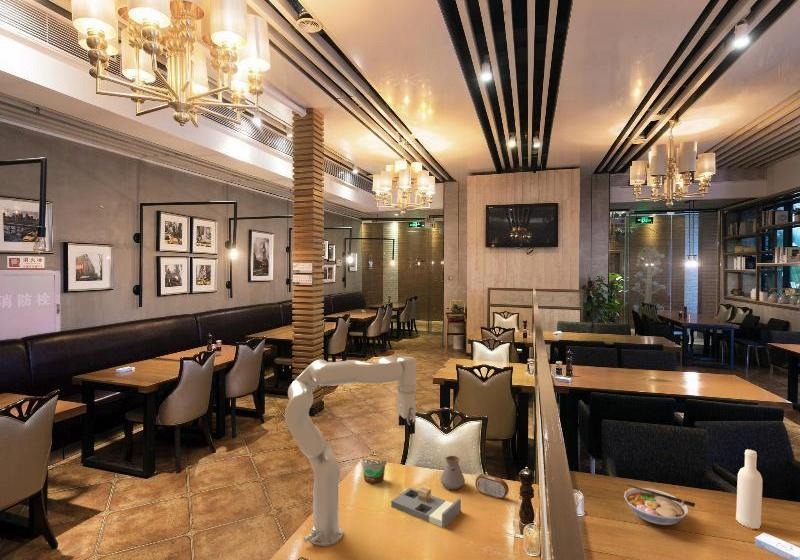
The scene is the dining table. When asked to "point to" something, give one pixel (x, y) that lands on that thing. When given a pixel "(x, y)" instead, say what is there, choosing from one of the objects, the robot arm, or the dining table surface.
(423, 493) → the block
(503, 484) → the tin
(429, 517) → the board
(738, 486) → the bottle
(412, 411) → the robot arm
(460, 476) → the coffee pot
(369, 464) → the food container
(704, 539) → the dining table surface
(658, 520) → the ramen bowl
